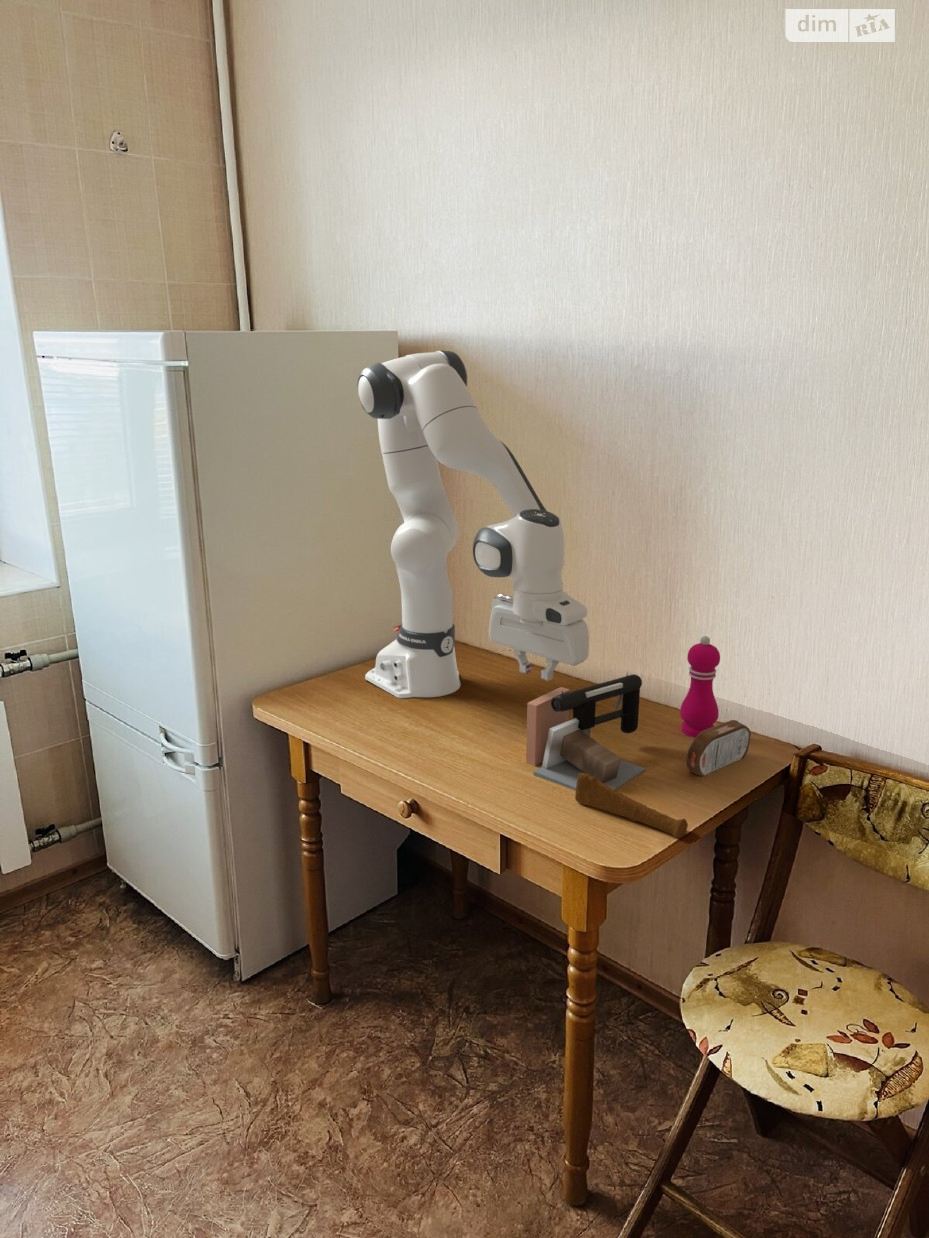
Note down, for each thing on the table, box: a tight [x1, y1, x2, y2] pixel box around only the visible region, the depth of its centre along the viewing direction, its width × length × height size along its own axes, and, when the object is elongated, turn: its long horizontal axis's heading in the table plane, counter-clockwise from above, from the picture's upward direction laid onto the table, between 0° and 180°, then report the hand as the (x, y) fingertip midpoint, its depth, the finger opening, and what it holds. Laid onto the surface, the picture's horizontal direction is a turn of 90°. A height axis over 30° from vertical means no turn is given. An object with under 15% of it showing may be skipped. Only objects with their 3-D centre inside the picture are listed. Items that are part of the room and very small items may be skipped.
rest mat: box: [533, 759, 646, 791], centre depth 163 cm, size 14×14×1 cm
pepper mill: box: [679, 635, 721, 739], centre depth 176 cm, size 7×7×20 cm
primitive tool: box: [574, 773, 689, 839], centre depth 146 cm, size 19×6×4 cm
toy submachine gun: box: [551, 672, 643, 737], centre depth 167 cm, size 3×20×16 cm, turn 124°
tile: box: [525, 686, 571, 767], centre depth 168 cm, size 2×10×12 cm, turn 138°
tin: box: [685, 719, 752, 777], centre depth 164 cm, size 15×3×8 cm, turn 127°
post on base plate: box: [541, 718, 622, 783], centre depth 162 cm, size 8×10×11 cm
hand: (536, 675), depth 167 cm, fingers open, 4 cm apart
